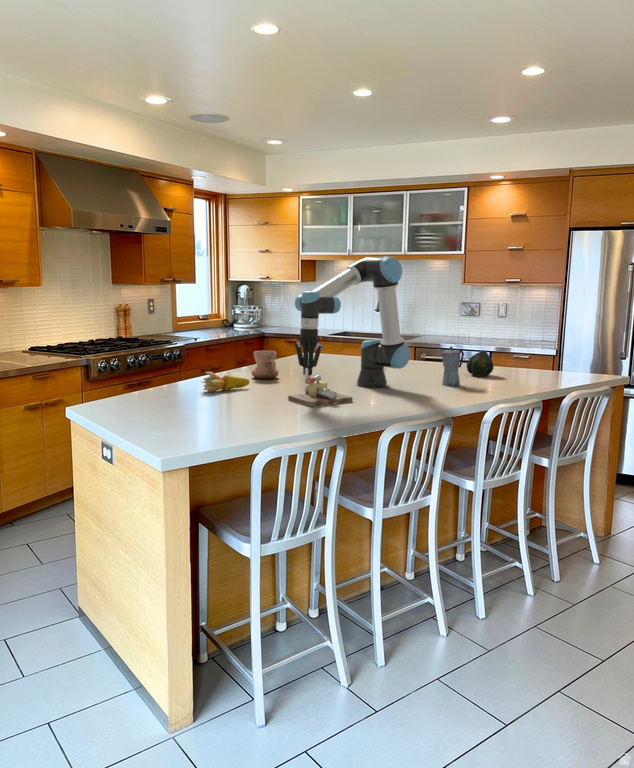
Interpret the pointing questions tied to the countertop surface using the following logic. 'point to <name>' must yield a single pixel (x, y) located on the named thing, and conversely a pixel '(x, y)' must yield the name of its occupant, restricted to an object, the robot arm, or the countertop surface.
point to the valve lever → (313, 379)
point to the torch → (223, 382)
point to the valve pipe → (320, 390)
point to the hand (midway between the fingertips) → (307, 382)
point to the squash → (480, 364)
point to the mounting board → (318, 399)
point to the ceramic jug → (265, 365)
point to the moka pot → (451, 366)
